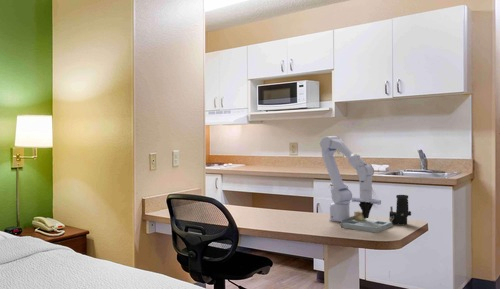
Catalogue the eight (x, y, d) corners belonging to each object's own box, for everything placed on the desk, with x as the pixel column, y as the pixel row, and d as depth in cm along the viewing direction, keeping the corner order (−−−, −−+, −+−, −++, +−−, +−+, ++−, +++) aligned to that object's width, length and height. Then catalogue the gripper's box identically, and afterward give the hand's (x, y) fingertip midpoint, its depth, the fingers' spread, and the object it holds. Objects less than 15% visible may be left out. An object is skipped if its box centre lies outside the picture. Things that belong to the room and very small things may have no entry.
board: (341, 227, 196) (341, 219, 196) (357, 221, 208) (357, 214, 207) (376, 232, 184) (376, 224, 183) (392, 226, 195) (392, 218, 195)
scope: (389, 193, 205) (410, 194, 201) (389, 221, 205) (411, 222, 202) (388, 196, 197) (411, 197, 194) (389, 225, 198) (411, 226, 194)
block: (354, 220, 201) (354, 211, 201) (358, 218, 204) (358, 210, 204) (362, 220, 199) (361, 212, 199) (366, 219, 202) (365, 211, 202)
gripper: (348, 189, 200) (348, 217, 201) (376, 192, 191) (376, 221, 191) (355, 188, 206) (355, 214, 206) (382, 190, 196) (383, 218, 196)
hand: (366, 217), depth 199 cm, fingers closed
